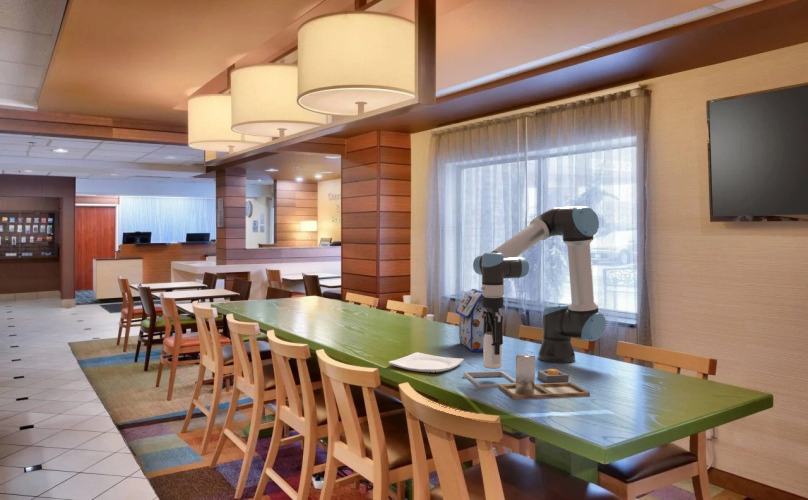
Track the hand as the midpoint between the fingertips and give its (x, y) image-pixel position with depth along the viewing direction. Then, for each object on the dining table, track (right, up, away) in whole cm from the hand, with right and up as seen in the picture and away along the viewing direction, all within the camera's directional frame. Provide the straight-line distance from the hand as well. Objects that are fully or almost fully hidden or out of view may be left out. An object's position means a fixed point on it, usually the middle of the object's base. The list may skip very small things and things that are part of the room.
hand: (492, 361), depth 200 cm
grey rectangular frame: (-1, -8, 0) cm, 8 cm away
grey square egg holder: (+22, -8, +1) cm, 23 cm away
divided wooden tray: (+14, -8, -15) cm, 22 cm away
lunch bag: (+3, -6, +63) cm, 63 cm away
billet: (+8, -7, -16) cm, 19 cm away
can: (0, -2, 0) cm, 2 cm away
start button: (+22, -7, +1) cm, 23 cm away
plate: (-23, -7, +24) cm, 34 cm away
